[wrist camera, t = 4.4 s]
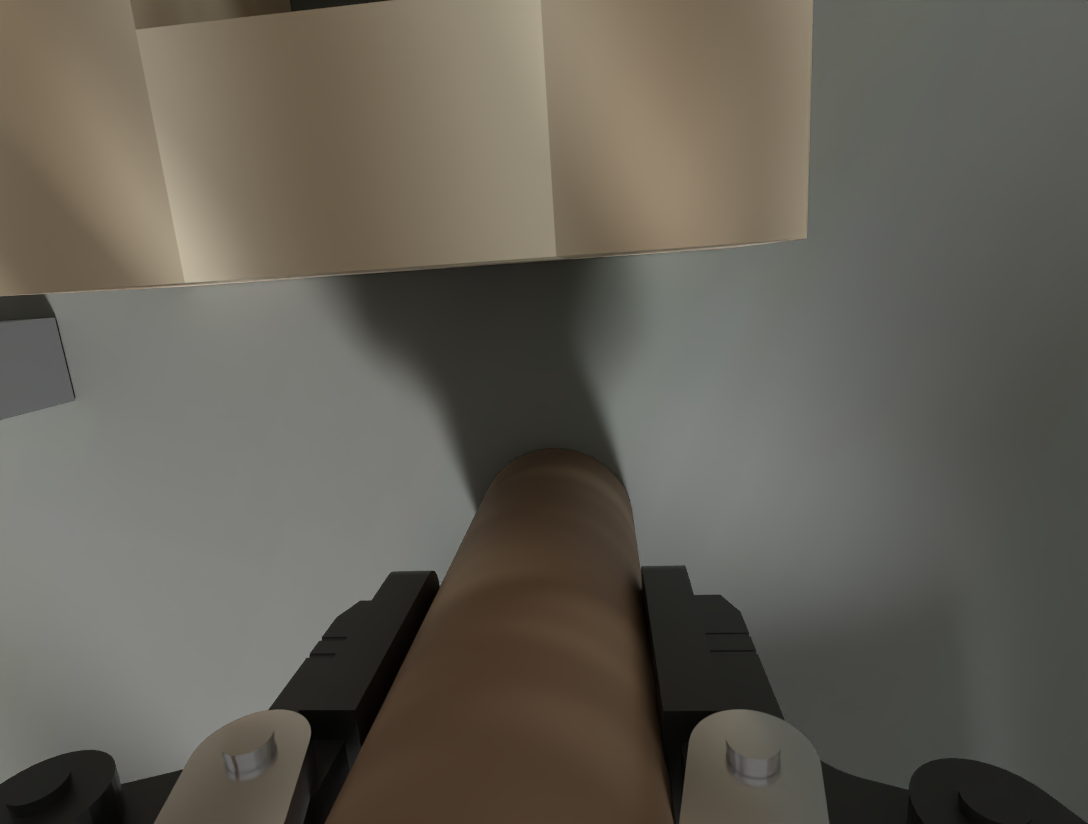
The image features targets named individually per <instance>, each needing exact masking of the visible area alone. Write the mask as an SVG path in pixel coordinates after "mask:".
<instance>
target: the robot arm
mask: <svg viewBox="0 0 1088 824" xmlns="http://www.w3.org/2000/svg"><path fill="white" fill-rule="evenodd" d="M641 582H642V595H643V603H644V610H645V618H646V625H647V632H648V640H649V647H650V655H651V662H652V669H653V677H654V684H655V692H656V699H657V706H658V714H659V721H660V729H661V736H662V743H663V751H664V758H665V762H666V766H667V770H668V774H669V777H670V784H671V791H672V798H673V805H674V813H675V820H676V824H1087V823H1086V822H1085V821H1083V820H1082V819H1081V818H1079V817H1078V816H1077V815H1075V814H1074V813H1073V812H1071V811H1070V810H1069V809H1067V808H1066V807H1065V806H1063V805H1062V804H1061V803H1059V802H1058V801H1057V800H1055V799H1054V798H1053V797H1051V796H1050V795H1049V794H1047V793H1046V792H1044V791H1043V790H1041V789H1040V788H1038V787H1037V786H1035V785H1034V784H1032V783H1030V782H1029V781H1027V780H1025V779H1023V778H1022V777H1020V776H1018V775H1015V774H1013V773H1011V772H1009V771H1007V770H1004V769H1001V768H999V767H996V766H993V765H990V764H986V763H983V762H979V761H974V760H968V759H957V758H948V759H938V760H934V761H930V762H928V763H926V764H924V765H922V766H921V767H919V768H918V769H917V770H916V771H915V773H914V774H913V776H912V777H911V781H910V784H909V790H906V789H902V788H898V787H894V786H890V785H886V784H882V783H878V782H875V781H871V780H867V779H863V778H859V777H856V776H853V775H850V774H847V773H845V772H842V771H840V770H837V769H835V768H833V767H831V766H829V765H828V764H826V763H824V762H822V761H821V760H820V759H819V755H818V753H817V751H816V749H815V747H814V746H813V745H812V743H811V742H810V740H809V739H808V738H807V737H806V736H805V735H804V734H803V733H802V732H801V731H799V730H798V729H797V728H795V727H794V726H793V725H791V724H789V723H787V722H786V721H785V720H784V717H783V715H782V713H781V710H780V708H779V705H778V703H777V700H776V698H775V695H774V693H773V691H772V688H771V686H770V683H769V681H768V678H767V676H766V674H765V671H764V669H763V666H762V664H761V661H760V659H759V656H758V655H756V649H755V647H754V644H753V642H752V639H751V637H749V632H748V630H747V627H746V625H745V622H744V620H743V617H742V615H741V612H740V611H739V610H737V609H736V608H735V607H734V606H733V605H732V604H730V603H729V602H728V601H727V600H726V599H724V598H723V597H722V596H721V595H694V594H693V590H692V587H691V583H690V580H689V577H688V573H687V570H686V567H685V566H684V565H683V566H642V568H641ZM439 588H440V586H439V581H438V577H437V574H436V573H435V571H398V572H391V573H390V574H389V575H388V577H387V578H386V580H385V581H384V583H383V584H382V586H381V587H380V589H379V590H378V592H377V593H376V595H375V596H374V598H373V599H372V601H359V602H358V603H356V604H355V605H354V606H352V607H351V608H349V609H348V610H347V611H345V612H344V613H342V614H341V615H339V616H338V617H337V618H336V619H335V620H334V622H333V623H332V624H331V626H330V627H329V628H328V630H327V631H326V632H325V634H324V635H323V637H322V641H319V642H318V643H317V645H316V646H315V647H314V649H313V650H312V651H311V653H310V658H306V660H305V661H304V662H303V664H302V665H301V666H300V668H299V669H298V670H297V672H296V673H295V674H294V676H293V677H292V679H291V680H290V681H289V683H288V684H287V685H286V687H285V688H284V689H283V691H282V692H281V693H280V695H279V696H278V698H277V699H276V700H275V702H274V703H273V704H272V706H271V707H270V708H269V710H266V711H261V712H256V713H253V714H250V715H247V716H244V717H241V718H239V719H237V720H235V721H233V722H231V723H229V724H227V725H225V726H223V727H222V728H220V729H218V730H217V731H215V732H214V733H213V734H211V735H210V736H209V737H208V738H206V739H205V740H204V741H203V742H202V743H201V744H200V745H199V746H198V747H197V749H196V750H195V751H194V752H193V754H192V755H191V757H190V758H189V760H188V762H187V764H186V765H185V767H184V769H183V770H179V771H175V772H171V773H167V774H163V775H158V776H154V777H150V778H146V779H142V780H137V781H133V782H129V783H125V784H121V783H120V780H119V776H118V772H117V768H116V765H115V761H114V759H113V758H112V756H110V755H109V754H107V753H105V752H102V751H97V750H82V751H75V752H70V753H66V754H62V755H59V756H56V757H53V758H50V759H47V760H45V761H42V762H40V763H38V764H35V765H33V766H31V767H29V768H27V769H25V770H23V771H21V772H20V773H18V774H16V775H15V776H13V777H11V778H9V779H8V780H6V781H5V782H3V783H2V784H0V824H324V823H325V821H326V819H327V817H328V815H329V813H330V811H331V809H332V807H333V805H334V803H335V801H336V799H337V797H338V795H339V793H340V791H341V788H342V786H343V784H344V782H345V780H346V778H347V776H348V774H349V772H350V770H351V768H352V766H353V764H354V762H355V760H356V758H357V756H358V754H359V752H360V750H361V748H362V746H363V743H364V741H365V739H366V737H367V735H368V733H369V731H370V729H371V727H372V725H373V723H374V721H375V719H376V717H377V715H378V713H379V711H380V709H381V707H382V705H383V703H384V701H385V698H386V696H387V694H388V692H389V690H390V688H391V686H392V684H393V682H394V680H395V678H396V676H397V674H398V672H399V670H400V668H401V666H402V664H403V662H404V660H405V658H406V655H407V653H408V651H409V649H410V647H411V645H412V643H413V641H414V639H415V637H416V635H417V633H418V631H419V629H420V627H421V625H422V623H423V621H424V619H425V617H426V615H427V613H428V610H429V608H430V606H431V604H432V602H433V600H434V598H435V596H436V594H437V592H438V590H439Z"/></svg>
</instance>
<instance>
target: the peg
mask: <svg viewBox="0 0 1088 824" xmlns="http://www.w3.org/2000/svg"><path fill="white" fill-rule="evenodd" d="M324 824H676V820H675V813H674V805H673V798H672V791H671V784H670V777H669V774H668V770H667V766H666V762H665V758H664V751H663V743H662V736H661V729H660V721H659V714H658V706H657V699H656V692H655V684H654V677H653V669H652V662H651V655H650V647H649V640H648V632H647V625H646V618H645V610H644V603H643V595H642V582H641V570H640V563H639V556H638V549H637V542H636V535H635V528H634V520H633V513H632V508H631V504H630V500H629V497H628V495H627V493H626V490H625V489H624V487H623V485H622V484H621V482H620V481H619V479H618V478H617V477H616V476H615V474H614V473H613V472H612V471H611V470H610V469H609V468H607V467H606V466H605V465H603V464H602V463H601V462H599V461H598V460H596V459H594V458H592V457H590V456H588V455H586V454H583V453H581V452H577V451H573V450H568V449H557V448H551V449H541V450H537V451H533V452H530V453H527V454H525V455H522V456H520V457H518V458H516V459H515V460H513V461H512V462H510V463H509V464H508V465H506V466H505V467H504V468H503V469H502V470H501V471H500V472H499V473H498V474H497V475H496V477H495V478H494V479H493V481H492V483H491V484H490V486H489V488H488V490H487V492H486V494H485V496H484V498H483V500H482V502H481V504H480V506H479V508H478V510H477V512H476V514H475V516H474V518H473V520H472V522H471V525H470V527H469V529H468V531H467V533H466V535H465V537H464V539H463V541H462V543H461V545H460V547H459V549H458V551H457V553H456V555H455V557H454V559H453V561H452V563H451V565H450V567H449V570H448V572H447V574H446V576H445V578H444V580H443V582H442V584H441V586H440V588H439V590H438V592H437V594H436V596H435V598H434V600H433V602H432V604H431V606H430V608H429V610H428V613H427V615H426V617H425V619H424V621H423V623H422V625H421V627H420V629H419V631H418V633H417V635H416V637H415V639H414V641H413V643H412V645H411V647H410V649H409V651H408V653H407V655H406V658H405V660H404V662H403V664H402V666H401V668H400V670H399V672H398V674H397V676H396V678H395V680H394V682H393V684H392V686H391V688H390V690H389V692H388V694H387V696H386V698H385V701H384V703H383V705H382V707H381V709H380V711H379V713H378V715H377V717H376V719H375V721H374V723H373V725H372V727H371V729H370V731H369V733H368V735H367V737H366V739H365V741H364V743H363V746H362V748H361V750H360V752H359V754H358V756H357V758H356V760H355V762H354V764H353V766H352V768H351V770H350V772H349V774H348V776H347V778H346V780H345V782H344V784H343V786H342V788H341V791H340V793H339V795H338V797H337V799H336V801H335V803H334V805H333V807H332V809H331V811H330V813H329V815H328V817H327V819H326V821H325V823H324Z"/></svg>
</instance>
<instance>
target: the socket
mask: <svg viewBox="0 0 1088 824" xmlns="http://www.w3.org/2000/svg"><path fill="white" fill-rule="evenodd" d="M812 31H813V0H390V1H382V2H373V3H364V4H355V5H347V6H338V7H329V8H320V9H312V10H303V11H294V12H292V10H291V3H290V0H0V296H13V295H32V294H51V293H69V292H88V291H106V290H125V289H144V288H162V287H181V286H197V285H212V284H226V283H240V282H254V281H268V280H283V279H297V278H311V277H325V276H340V275H354V274H368V273H382V272H396V271H411V270H425V269H439V268H453V267H468V266H482V265H496V264H510V263H524V262H539V261H553V260H567V259H581V258H596V257H610V256H624V255H638V254H652V253H667V252H681V251H695V250H709V249H724V248H734V247H742V246H750V245H759V244H767V243H775V242H783V241H791V240H800V239H807V215H808V178H809V142H810V105H811V68H812Z"/></svg>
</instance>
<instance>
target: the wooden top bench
mask: <svg viewBox="0 0 1088 824" xmlns="http://www.w3.org/2000/svg"><path fill="white" fill-rule="evenodd" d="M71 401H75V398H74V394H73V390H72V386H71V382H70V378H69V374H68V370H67V365H66V361H65V357H64V353H63V349H62V345H61V341H60V337H59V333H58V328H57V324H56V320H55V317H54V318H39V319H24V320H9V321H0V420H2V419H6V418H10V417H13V416H17V415H21V414H25V413H29V412H33V411H36V410H40V409H44V408H48V407H52V406H56V405H59V404H63V403H67V402H71Z"/></svg>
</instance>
